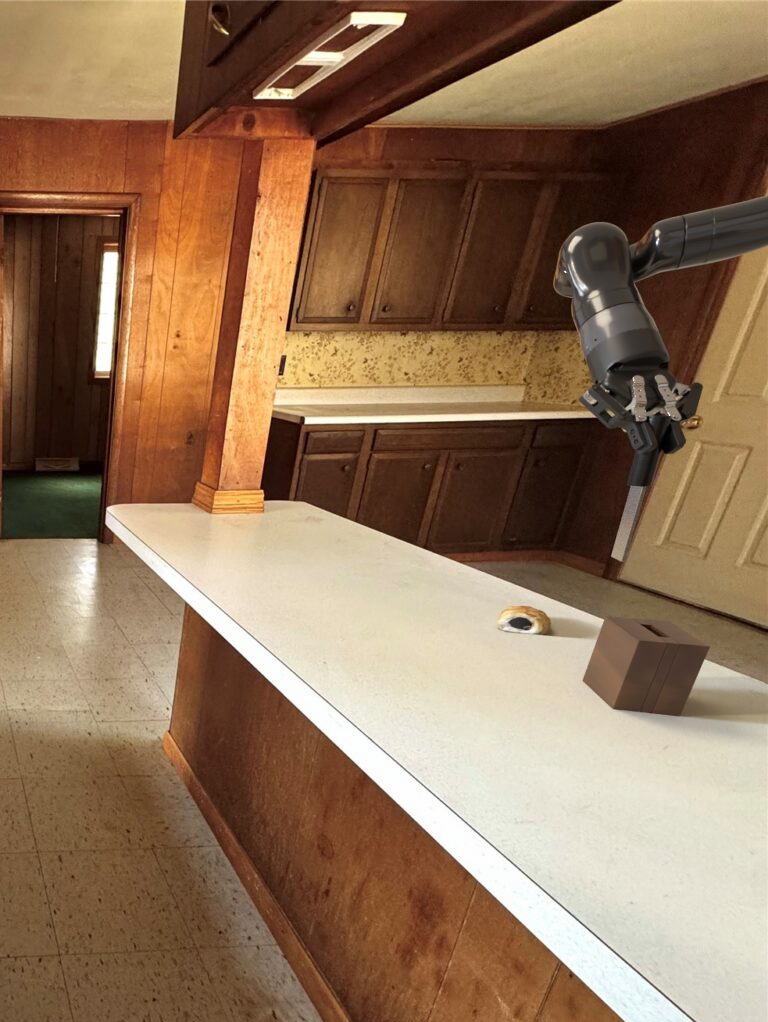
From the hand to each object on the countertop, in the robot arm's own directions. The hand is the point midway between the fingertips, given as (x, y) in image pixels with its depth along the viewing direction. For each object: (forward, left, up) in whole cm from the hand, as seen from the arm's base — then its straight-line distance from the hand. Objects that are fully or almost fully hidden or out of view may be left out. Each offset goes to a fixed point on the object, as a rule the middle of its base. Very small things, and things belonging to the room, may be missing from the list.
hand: (661, 450), depth 85 cm
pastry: (+1, -17, -33) cm, 37 cm away
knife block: (-2, +8, -33) cm, 34 cm away
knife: (0, -1, -15) cm, 15 cm away
